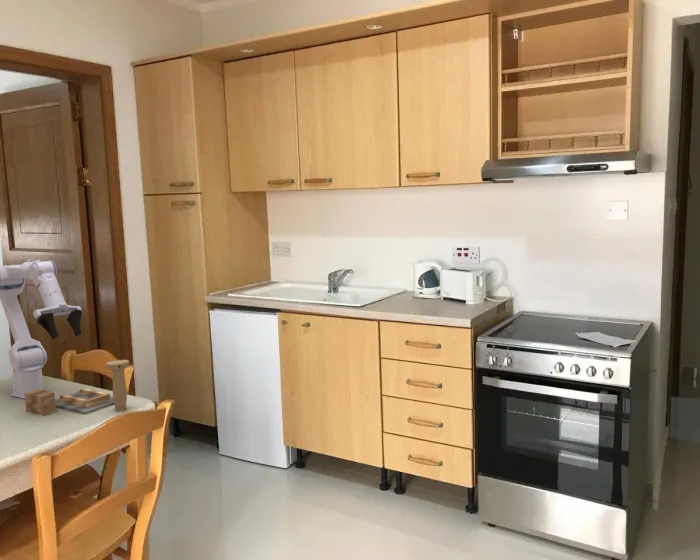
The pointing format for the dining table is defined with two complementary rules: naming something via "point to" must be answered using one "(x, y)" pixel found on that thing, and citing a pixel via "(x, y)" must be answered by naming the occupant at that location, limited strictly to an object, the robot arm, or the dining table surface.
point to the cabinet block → (40, 402)
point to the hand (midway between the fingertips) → (67, 336)
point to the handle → (119, 383)
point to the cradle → (84, 401)
